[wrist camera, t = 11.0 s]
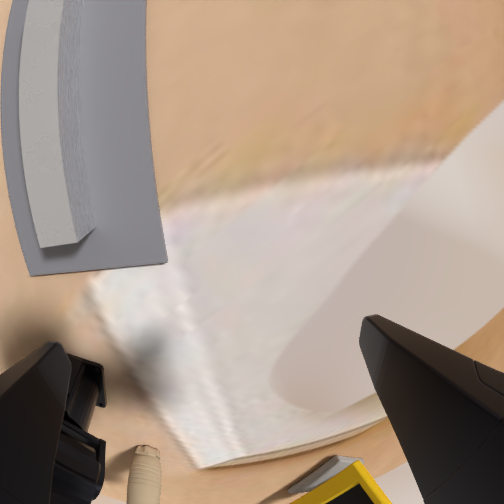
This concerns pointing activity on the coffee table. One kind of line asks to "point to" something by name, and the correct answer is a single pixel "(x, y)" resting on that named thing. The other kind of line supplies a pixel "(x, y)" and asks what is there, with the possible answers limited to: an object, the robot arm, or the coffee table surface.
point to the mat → (95, 143)
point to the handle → (144, 477)
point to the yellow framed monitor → (340, 484)
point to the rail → (54, 122)
